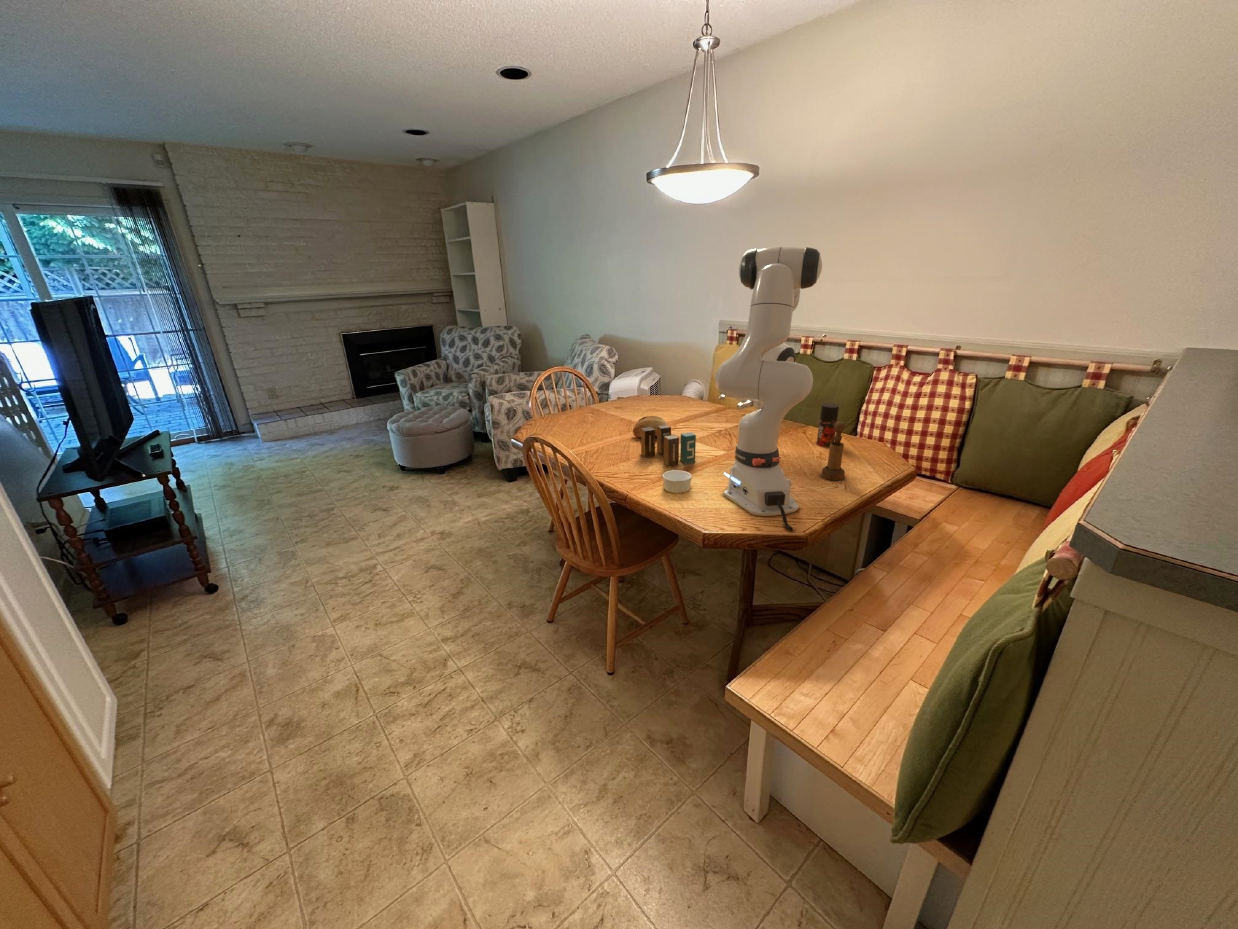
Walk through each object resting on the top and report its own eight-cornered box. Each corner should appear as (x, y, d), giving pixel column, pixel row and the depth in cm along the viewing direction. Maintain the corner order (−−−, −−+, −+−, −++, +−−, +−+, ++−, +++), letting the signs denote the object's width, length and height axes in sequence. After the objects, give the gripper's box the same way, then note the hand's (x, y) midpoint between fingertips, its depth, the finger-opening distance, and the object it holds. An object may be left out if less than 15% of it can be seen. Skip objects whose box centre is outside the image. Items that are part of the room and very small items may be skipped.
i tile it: (650, 452, 177) (650, 426, 174) (655, 455, 174) (655, 429, 170) (641, 454, 176) (640, 428, 172) (645, 457, 173) (644, 431, 169)
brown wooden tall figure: (836, 472, 155) (843, 418, 148) (848, 479, 149) (856, 424, 142) (817, 473, 154) (824, 420, 147) (828, 481, 148) (836, 426, 141)
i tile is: (673, 461, 168) (674, 434, 164) (678, 465, 165) (679, 437, 161) (663, 463, 167) (663, 436, 163) (668, 467, 163) (668, 439, 160)
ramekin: (656, 488, 148) (656, 475, 146) (676, 480, 153) (676, 467, 151) (677, 496, 141) (677, 483, 140) (697, 488, 147) (697, 475, 145)
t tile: (666, 450, 179) (666, 424, 176) (671, 453, 176) (671, 427, 173) (657, 451, 178) (656, 426, 174) (661, 454, 175) (661, 428, 171)
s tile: (690, 458, 170) (690, 432, 166) (695, 462, 167) (696, 435, 163) (680, 460, 169) (680, 433, 165) (685, 464, 166) (685, 436, 162)
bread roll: (631, 433, 199) (630, 415, 196) (666, 431, 201) (666, 412, 198) (634, 440, 190) (634, 421, 188) (671, 438, 192) (671, 419, 189)
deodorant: (813, 444, 180) (818, 405, 175) (821, 440, 184) (826, 402, 178) (828, 447, 176) (834, 408, 171) (836, 444, 180) (842, 405, 174)
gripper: (738, 370, 178) (709, 386, 174) (778, 386, 162) (748, 405, 159) (739, 384, 182) (711, 401, 178) (780, 402, 166) (749, 420, 162)
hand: (729, 403), depth 168 cm, fingers open, 8 cm apart
